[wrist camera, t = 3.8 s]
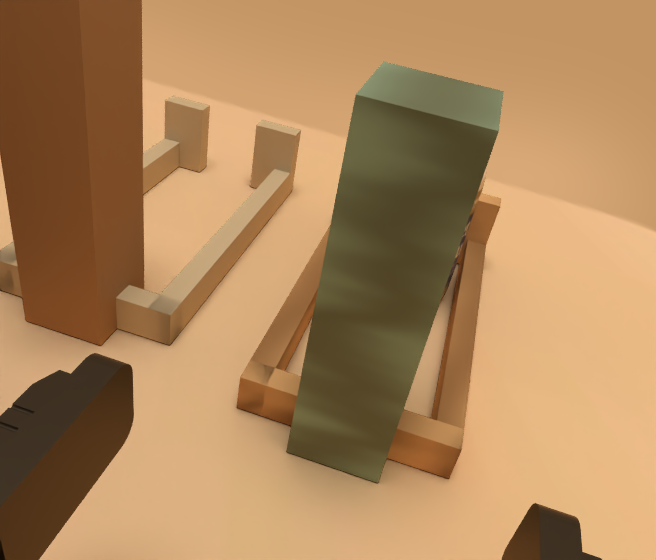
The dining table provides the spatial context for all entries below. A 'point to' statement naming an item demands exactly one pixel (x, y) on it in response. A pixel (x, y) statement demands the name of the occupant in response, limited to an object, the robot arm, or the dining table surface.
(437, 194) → the tall sage green pillar
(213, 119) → the dining table surface
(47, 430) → the robot arm
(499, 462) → the dining table surface
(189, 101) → the lane broken
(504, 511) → the dining table surface
